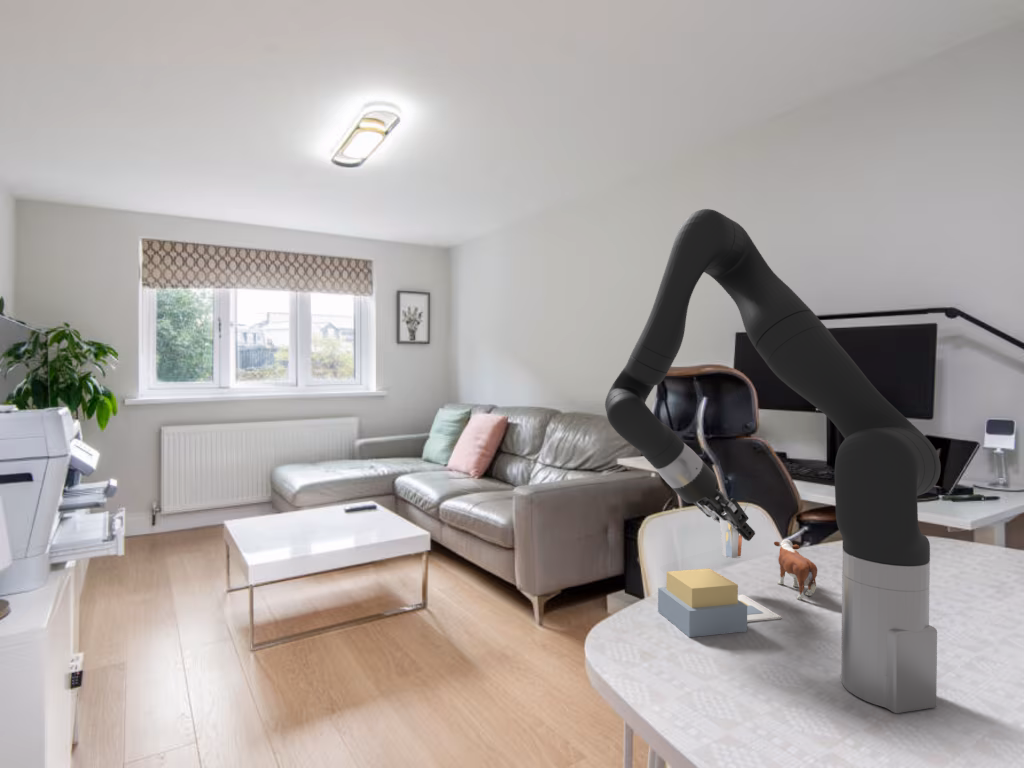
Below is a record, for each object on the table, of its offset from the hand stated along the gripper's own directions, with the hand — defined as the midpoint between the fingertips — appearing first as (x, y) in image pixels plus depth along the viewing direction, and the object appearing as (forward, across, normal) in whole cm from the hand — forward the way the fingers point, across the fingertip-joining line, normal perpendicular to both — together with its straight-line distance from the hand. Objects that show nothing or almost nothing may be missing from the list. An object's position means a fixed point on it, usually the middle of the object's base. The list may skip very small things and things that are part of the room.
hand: (742, 533), depth 108 cm
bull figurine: (+14, -2, +1) cm, 14 cm away
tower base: (-4, -11, +19) cm, 22 cm away
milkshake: (+2, 0, +4) cm, 5 cm away
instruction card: (+3, -8, +12) cm, 15 cm away
